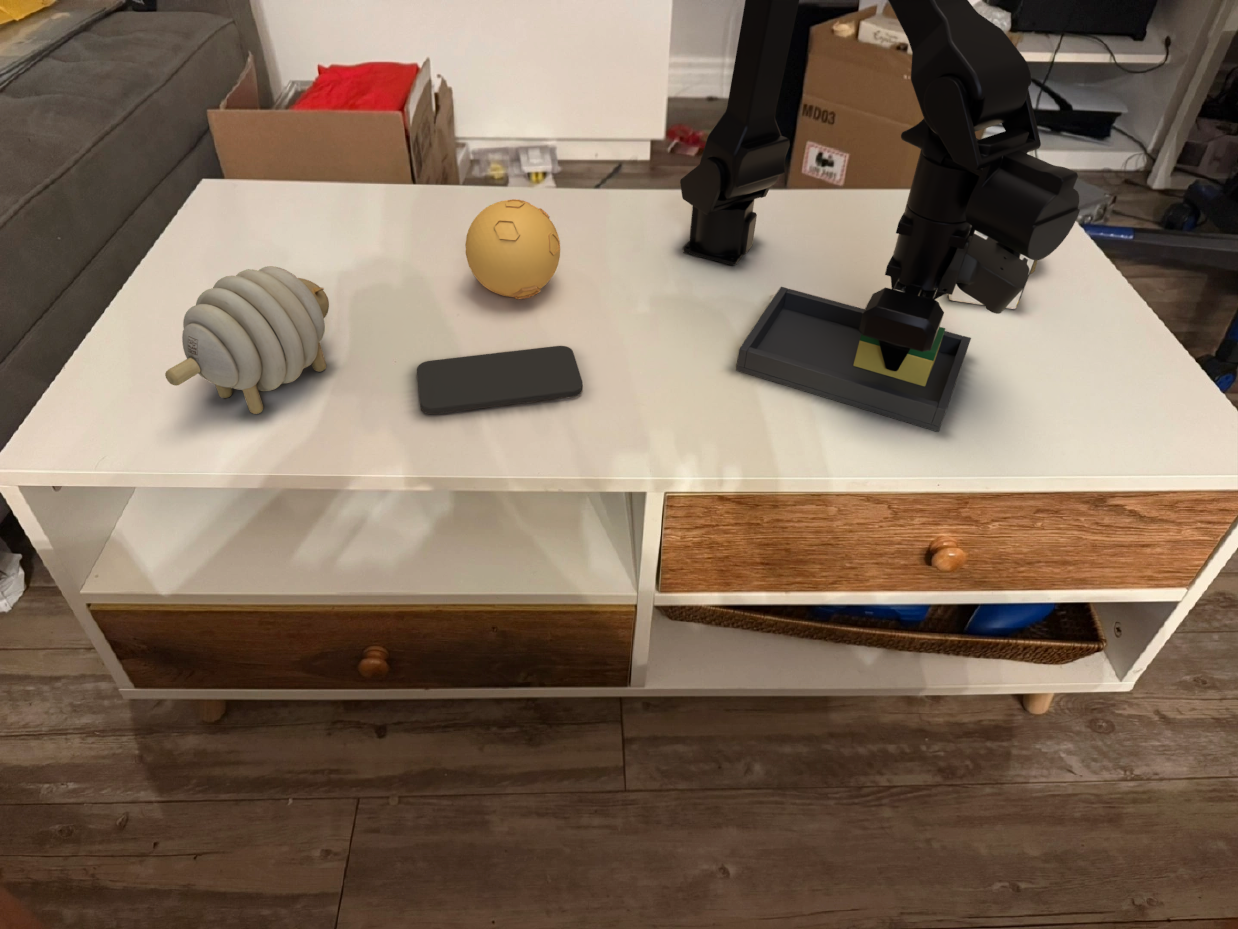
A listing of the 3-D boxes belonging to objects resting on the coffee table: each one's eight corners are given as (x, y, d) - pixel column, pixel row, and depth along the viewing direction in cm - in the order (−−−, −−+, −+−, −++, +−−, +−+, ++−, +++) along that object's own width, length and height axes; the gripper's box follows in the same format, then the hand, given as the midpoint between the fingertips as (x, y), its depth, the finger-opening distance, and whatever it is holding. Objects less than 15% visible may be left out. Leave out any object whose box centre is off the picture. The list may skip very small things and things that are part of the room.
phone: (415, 361, 85) (570, 343, 87) (417, 368, 85) (570, 350, 88) (420, 410, 79) (585, 389, 82) (421, 417, 80) (585, 396, 83)
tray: (735, 370, 86) (739, 348, 85) (777, 307, 95) (781, 286, 93) (938, 432, 80) (946, 410, 79) (963, 359, 89) (971, 337, 87)
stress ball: (474, 319, 92) (465, 231, 85) (466, 270, 99) (457, 185, 92) (569, 310, 93) (567, 223, 86) (554, 262, 100) (552, 178, 93)
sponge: (852, 366, 86) (861, 331, 84) (864, 342, 89) (873, 308, 87) (924, 386, 84) (936, 352, 82) (934, 361, 87) (945, 328, 85)
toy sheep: (372, 356, 87) (352, 254, 79) (242, 457, 76) (204, 351, 68) (290, 324, 90) (263, 224, 82) (155, 417, 79) (109, 312, 71)
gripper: (1024, 282, 67) (964, 438, 78) (1052, 185, 79) (997, 330, 90) (878, 247, 70) (840, 400, 81) (927, 158, 83) (888, 302, 93)
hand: (897, 356), depth 86 cm, fingers closed on sponge, 4 cm apart
